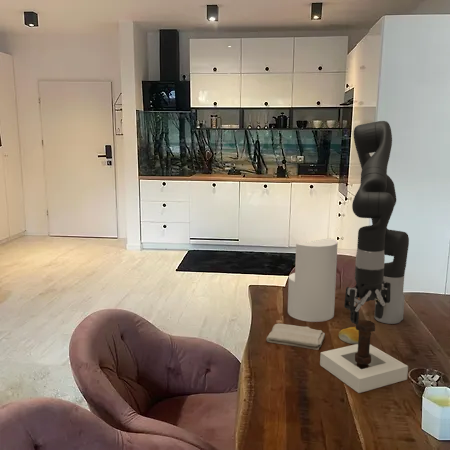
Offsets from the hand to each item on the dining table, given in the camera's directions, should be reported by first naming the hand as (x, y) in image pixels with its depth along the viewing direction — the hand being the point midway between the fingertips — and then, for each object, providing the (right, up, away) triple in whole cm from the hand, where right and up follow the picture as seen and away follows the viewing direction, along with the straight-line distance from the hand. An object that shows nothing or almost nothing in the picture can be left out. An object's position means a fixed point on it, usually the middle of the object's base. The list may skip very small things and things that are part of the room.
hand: (366, 320), depth 134 cm
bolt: (-1, -16, +3) cm, 16 cm away
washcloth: (-16, -12, +25) cm, 32 cm away
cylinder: (-7, -7, +48) cm, 49 cm away
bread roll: (+3, -12, +25) cm, 28 cm away
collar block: (0, -15, +3) cm, 16 cm away
